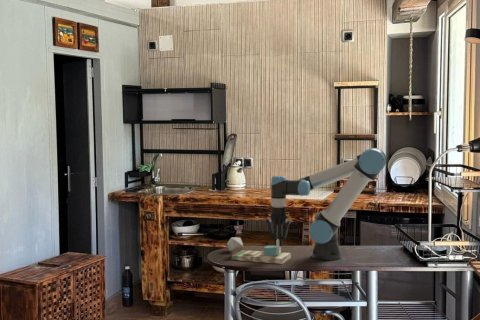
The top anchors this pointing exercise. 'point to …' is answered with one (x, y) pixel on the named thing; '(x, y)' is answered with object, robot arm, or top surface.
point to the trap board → (258, 256)
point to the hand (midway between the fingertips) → (278, 252)
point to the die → (234, 243)
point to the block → (270, 251)
